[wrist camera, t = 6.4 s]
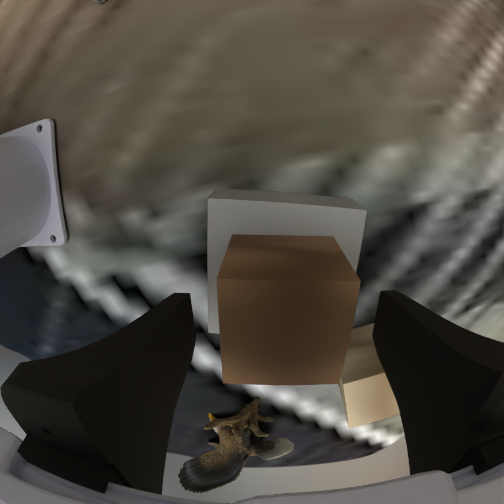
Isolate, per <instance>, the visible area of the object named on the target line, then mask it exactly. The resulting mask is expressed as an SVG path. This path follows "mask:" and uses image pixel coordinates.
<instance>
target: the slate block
mask: <svg viewBox="0 0 504 504" xmlns="http://www.w3.org/2000/svg"><path fill="white" fill-rule="evenodd" d="M366 213H367V210H366V209H364V208H363V207H362V206H361V205H359V204H358V203H357V202H355V201H354V200H353V199H351V198H342V197H332V196H322V195H311V194H299V193H286V192H273V191H258V190H240V189H220V188H217V189H216V190H215V191H214V192H213V194H212V195H211V196H210V197H209V198H208V234H207V270H208V330H209V333H218V334H220V332H219V317H218V300H217V281H216V279H217V276H218V273H219V270H220V267H221V264H222V262H223V259H224V256H225V253H226V250H227V247H228V245H229V242H230V239H231V236H232V234H244V235H296V236H333V237H334V238H335V240H336V241H337V243H338V245H339V246H340V248H341V249H342V251H343V253H344V254H345V256H346V258H347V259H348V261H349V263H350V264H351V266H352V268H353V269H354V271H355V273H356V270H357V265H358V260H359V255H360V249H361V244H362V238H363V232H364V226H365V220H366Z"/></svg>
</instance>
